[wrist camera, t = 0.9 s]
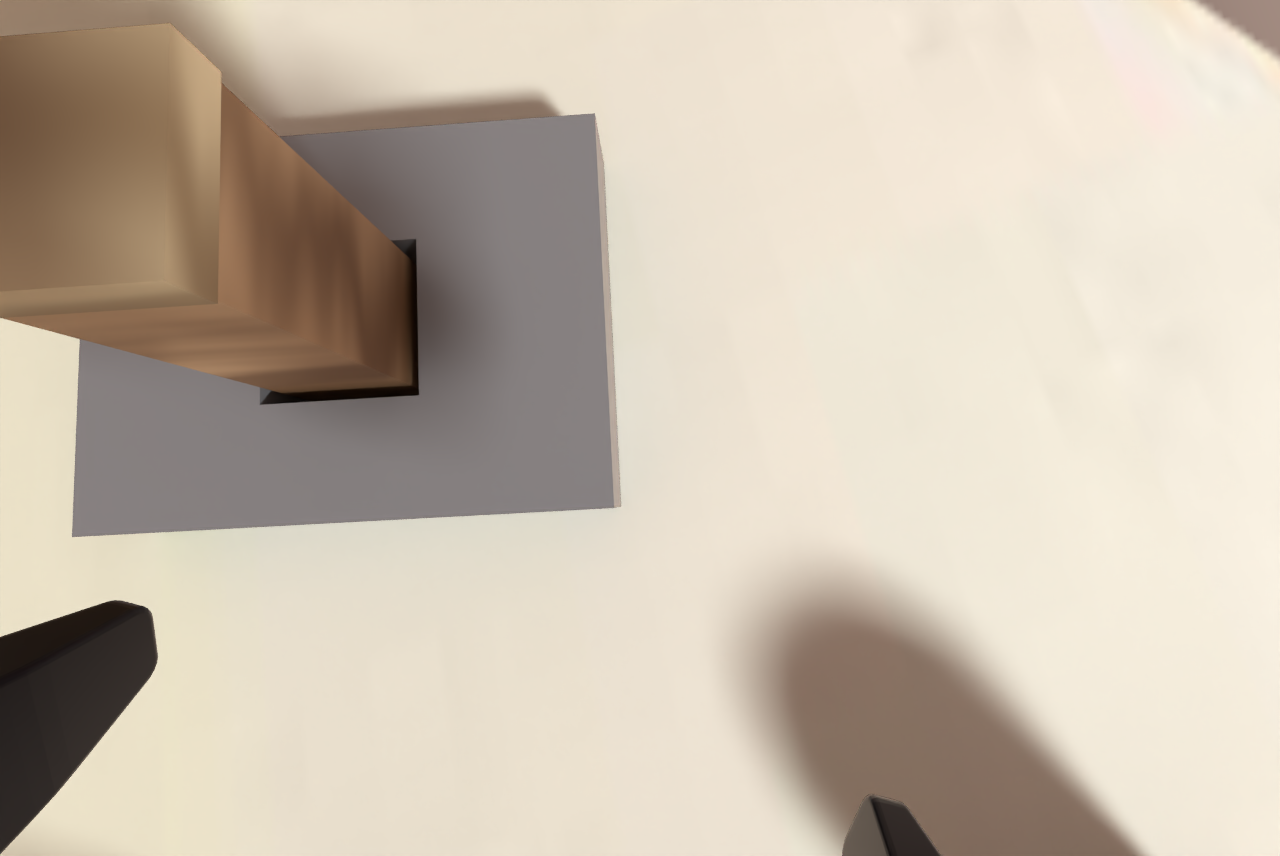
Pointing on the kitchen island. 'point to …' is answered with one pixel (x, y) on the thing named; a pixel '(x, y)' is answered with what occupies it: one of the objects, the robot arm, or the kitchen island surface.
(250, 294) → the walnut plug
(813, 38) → the kitchen island surface
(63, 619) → the robot arm
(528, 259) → the socket board
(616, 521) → the kitchen island surface
